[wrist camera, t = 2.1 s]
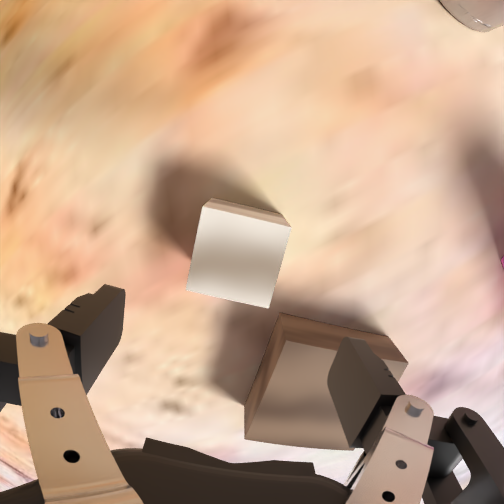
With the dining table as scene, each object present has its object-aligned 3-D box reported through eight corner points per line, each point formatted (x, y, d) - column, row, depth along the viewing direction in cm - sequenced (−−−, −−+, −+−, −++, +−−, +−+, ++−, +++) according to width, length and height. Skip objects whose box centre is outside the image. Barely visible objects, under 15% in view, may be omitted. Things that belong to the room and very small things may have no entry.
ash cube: (211, 197, 25) (202, 206, 19) (281, 214, 25) (291, 227, 20) (197, 264, 26) (185, 290, 21) (264, 279, 26) (268, 308, 21)
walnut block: (279, 310, 27) (286, 340, 23) (387, 335, 28) (408, 363, 24) (244, 404, 30) (244, 439, 25) (342, 418, 31) (353, 450, 26)
